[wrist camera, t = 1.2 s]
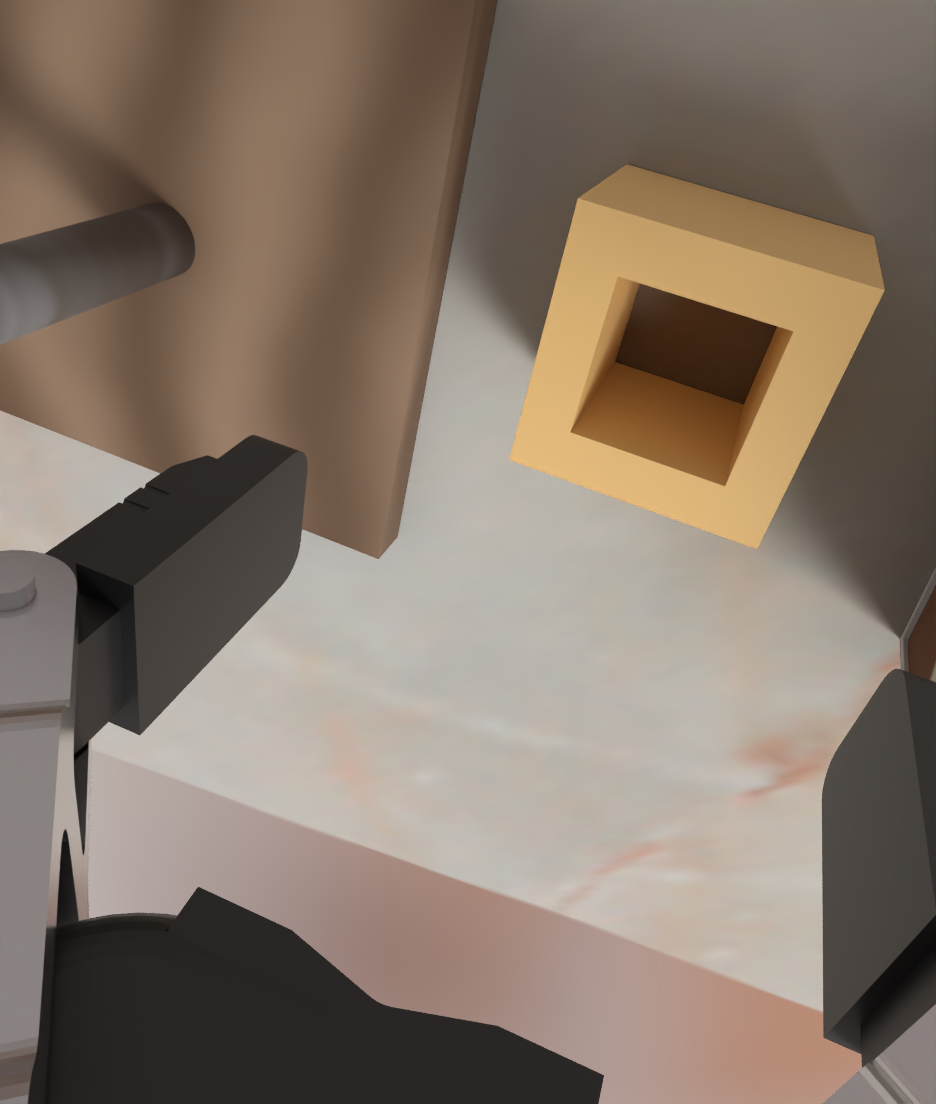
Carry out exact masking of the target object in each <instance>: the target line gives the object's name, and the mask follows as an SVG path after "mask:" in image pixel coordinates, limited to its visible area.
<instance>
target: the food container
mask: <svg viewBox="0 0 936 1104" xmlns="http://www.w3.org/2000/svg"><path fill="white" fill-rule="evenodd" d="M900 657H901V670H904V671H906V672H909V673H912V674H915V675H918V676H920V677H923V678H926V679H929V680H931V681H934V682H936V567H935V569H934V571H933V573H932V575H931V577H930V579H929V581H928V583H927V585H926V587H925V589H924V591H923V593H922V595H921V597H920V599H919V601H918V603H917V605H916V607H915V609H914V611H913V613H912V615H911V618H910V620H909V622H908V624H907V626H906V628H905V630H904V632H903V634H902V636H901V638H900Z"/></svg>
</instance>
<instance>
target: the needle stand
mask: <svg viewBox="0 0 936 1104" xmlns="http://www.w3.org/2000/svg"><path fill="white" fill-rule="evenodd" d="M496 4H497V0H0V410H1V411H3V412H6V413H8V414H11V415H14V416H16V417H19V418H21V419H24V420H26V421H29V422H31V423H34V424H36V425H39V426H42V427H44V428H47V429H49V430H52V431H54V432H57V433H59V434H62V435H64V436H67V437H70V438H72V439H75V440H77V441H80V442H82V443H85V444H87V445H90V446H92V447H95V448H97V449H100V450H103V451H105V452H108V453H110V454H113V455H115V456H118V457H120V458H123V459H125V460H128V461H131V462H133V463H136V464H138V465H141V466H143V467H146V468H148V469H151V470H153V471H156V472H159V473H162V472H164V471H165V470H167V469H168V468H170V467H171V466H173V465H177V464H180V463H183V462H187V461H190V460H193V459H196V458H200V457H203V456H206V455H208V456H211V457H214V458H217V459H218V458H219V457H221V456H222V455H223V454H225V453H226V452H227V451H229V450H230V449H232V448H233V447H234V446H236V445H237V444H238V443H240V442H241V441H242V440H244V439H245V438H247V437H248V436H251V435H257V436H260V437H262V438H265V439H268V440H271V441H274V442H276V443H279V444H282V445H285V446H287V447H290V448H293V449H296V450H298V451H301V452H303V453H304V454H305V455H306V457H307V463H308V470H307V481H306V491H305V501H304V511H303V522H302V529H303V530H306V531H309V532H311V533H314V534H316V535H319V536H321V537H324V538H326V539H329V540H331V541H334V542H337V543H339V544H342V545H344V546H347V547H349V548H352V549H354V550H357V551H359V552H362V553H364V554H367V555H370V556H372V557H375V558H377V559H379V558H380V557H381V556H382V554H383V553H384V552H385V551H386V550H387V548H388V547H389V546H390V545H391V544H392V543H393V541H394V540H395V539H396V538H397V536H398V531H399V525H400V520H401V515H402V509H403V504H404V498H405V493H406V488H407V482H408V477H409V472H410V466H411V461H412V455H413V450H414V445H415V439H416V434H417V429H418V423H419V418H420V413H421V407H422V402H423V396H424V391H425V386H426V380H427V375H428V370H429V364H430V359H431V353H432V348H433V343H434V337H435V332H436V327H437V321H438V316H439V310H440V305H441V300H442V294H443V289H444V284H445V278H446V273H447V267H448V262H449V257H450V251H451V246H452V241H453V235H454V230H455V225H456V219H457V214H458V208H459V203H460V198H461V192H462V187H463V182H464V176H465V171H466V165H467V160H468V155H469V149H470V144H471V139H472V133H473V128H474V122H475V117H476V112H477V106H478V101H479V96H480V90H481V85H482V80H483V74H484V69H485V63H486V58H487V53H488V47H489V42H490V37H491V31H492V26H493V20H494V15H495V10H496Z"/></svg>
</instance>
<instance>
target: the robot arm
mask: <svg viewBox="0 0 936 1104" xmlns="http://www.w3.org/2000/svg"><path fill="white" fill-rule="evenodd" d="M307 470H308V463H307V457H306V455H305V454H304V453H303V452H301V451H298V450H296V449H293V448H290V447H287V446H285V445H282V444H279V443H276V442H274V441H271V440H268V439H265V438H262V437H260V436H257V435H251V436H248V437H247V438H245V439H244V440H242V441H241V442H240V443H238V444H237V445H236V446H234V447H233V448H232V449H230V450H229V451H227V452H226V453H225V454H223V455H222V456H221V457H219V458H218V459H217V458H214V457H211V456H208V455H206V456H203V457H200V458H196V459H193V460H190V461H187V462H183V463H180V464H177V465H173V466H171V467H170V468H168V469H167V470H165V471H164V472H162V473H161V474H159V475H158V476H157V477H155V478H154V479H152V480H151V481H149V482H148V483H146V486H145V488H144V489H143V488H139V489H138V490H136V491H135V492H133V493H132V494H131V495H129V496H128V497H126V498H125V499H124V502H123V504H122V503H117V504H116V505H115V506H113V507H112V508H110V509H109V510H107V511H106V512H104V513H103V514H102V515H100V516H99V517H97V518H96V519H94V520H93V521H91V522H90V523H89V524H87V525H86V526H84V527H83V528H81V529H80V530H78V531H77V532H76V533H74V534H73V535H71V536H70V537H68V538H67V539H65V540H64V541H63V542H61V543H60V544H58V545H57V546H55V547H54V548H52V549H51V550H49V551H48V552H47V553H45V554H43V553H38V552H33V551H24V550H9V551H0V1104H598V1102H599V1097H600V1092H601V1088H602V1082H603V1077H604V1075H602V1074H600V1073H598V1072H595V1071H593V1070H591V1069H589V1068H587V1067H585V1066H583V1065H580V1064H578V1063H576V1062H574V1061H572V1060H570V1059H567V1058H565V1057H563V1056H561V1055H559V1054H557V1053H555V1052H552V1051H550V1050H548V1049H546V1048H544V1047H542V1046H540V1045H537V1044H535V1043H533V1042H531V1041H529V1040H527V1039H524V1038H522V1037H520V1036H518V1035H516V1034H514V1033H511V1032H509V1031H507V1030H505V1029H503V1028H501V1027H499V1026H494V1025H488V1024H483V1023H478V1022H472V1021H467V1020H461V1019H455V1018H450V1017H444V1016H438V1015H433V1014H427V1013H422V1012H416V1011H410V1010H405V1009H399V1008H393V1007H389V1006H385V1005H383V1004H381V1003H379V1002H377V1001H375V1000H374V999H372V998H371V997H370V996H369V995H367V994H366V993H365V992H364V991H363V990H362V989H360V988H359V987H358V986H357V985H355V984H354V983H353V982H352V981H351V980H350V979H349V978H347V977H346V976H345V975H344V974H343V973H341V972H340V971H339V970H338V969H337V968H336V967H334V966H333V965H332V964H331V963H330V962H329V961H327V960H326V959H325V958H324V957H323V956H321V955H320V954H319V953H318V952H317V951H316V950H314V949H313V948H312V947H311V946H310V945H308V944H307V943H306V942H305V941H303V940H302V939H301V938H300V937H299V936H298V935H297V934H295V933H294V932H293V931H292V930H290V929H288V928H286V927H283V926H281V925H279V924H277V923H275V922H273V921H270V920H269V919H266V918H264V917H262V916H260V915H258V914H256V913H253V912H251V911H249V910H247V909H245V908H243V907H241V906H238V905H236V904H234V903H232V902H230V901H228V900H225V899H223V898H221V897H219V896H217V895H215V894H213V893H210V892H208V891H206V890H204V889H202V888H200V887H198V888H197V889H196V891H195V892H194V893H193V895H192V896H191V898H190V899H189V900H188V902H187V903H186V905H185V906H184V907H183V909H182V910H181V912H180V913H179V914H178V916H176V915H170V914H156V913H128V914H113V915H107V916H101V917H96V918H90V919H89V903H88V902H89V901H88V862H89V831H90V801H91V771H92V770H91V769H92V745H91V738H92V737H93V736H94V735H95V734H96V733H97V732H98V731H99V730H100V729H101V728H102V727H103V726H105V725H106V724H107V723H108V722H111V723H113V724H115V725H118V726H120V727H122V728H124V729H127V730H129V731H131V732H134V733H136V734H138V735H141V734H142V733H143V732H144V731H145V729H146V728H147V727H148V726H149V725H150V724H151V723H152V722H153V721H154V720H155V719H156V718H157V717H158V716H159V715H160V714H161V713H162V711H163V710H164V709H165V708H166V707H167V706H168V705H169V704H170V703H171V702H172V701H173V700H174V699H175V698H176V697H177V696H178V695H179V694H180V692H181V691H182V690H183V689H184V688H185V687H186V686H187V685H188V684H189V683H190V682H191V681H192V680H193V679H194V678H195V677H196V676H197V675H198V673H199V672H200V671H201V670H202V669H203V668H204V667H205V666H206V665H207V664H208V663H209V662H210V661H211V660H212V659H213V658H214V657H215V655H216V654H217V653H218V652H219V651H220V650H221V649H222V648H223V647H224V646H225V645H226V644H227V643H228V642H229V641H230V640H231V639H232V638H233V636H234V635H235V634H236V633H237V632H238V631H239V630H240V629H241V628H242V627H243V626H244V625H245V624H246V623H247V622H248V621H249V620H250V619H251V617H252V616H253V615H254V614H255V613H256V612H257V611H258V610H259V609H260V608H261V607H262V606H263V605H264V604H265V603H266V602H267V601H268V599H269V598H270V597H271V596H272V595H273V594H274V593H275V592H276V591H277V590H278V589H279V588H280V587H281V586H282V585H283V583H284V582H285V581H286V579H287V578H288V576H289V574H290V572H291V571H292V569H293V566H294V564H295V561H296V559H297V556H298V552H299V548H300V542H301V532H302V522H303V511H304V501H305V491H306V481H307ZM822 874H823V1016H824V1017H823V1020H824V1021H823V1022H824V1038H826V1039H828V1040H830V1041H832V1042H835V1043H837V1044H839V1045H842V1046H844V1047H846V1048H848V1049H851V1050H853V1051H855V1052H858V1053H860V1054H862V1069H861V1070H859V1071H858V1072H857V1073H856V1074H855V1075H854V1076H853V1077H852V1078H850V1079H849V1080H848V1081H847V1082H846V1083H845V1084H844V1085H843V1086H842V1087H841V1088H839V1089H838V1090H837V1091H836V1092H835V1093H834V1094H833V1095H832V1096H831V1097H829V1098H828V1099H827V1100H826V1101H825V1102H824V1103H823V1104H936V682H934V681H931V680H929V679H926V678H923V677H920V676H918V675H915V674H912V673H909V672H906V671H904V670H901V669H894V670H893V671H891V672H890V673H889V674H888V675H887V676H886V677H885V678H884V680H883V681H882V682H881V684H880V685H879V687H878V689H877V690H876V692H875V693H874V695H873V696H872V698H871V699H870V701H869V702H868V704H867V705H866V707H865V708H864V710H863V711H862V713H861V714H860V716H859V717H858V719H857V720H856V722H855V723H854V725H853V726H852V728H851V729H850V731H849V732H848V734H847V735H846V737H845V738H844V740H843V741H842V743H841V744H840V746H839V747H838V749H837V751H836V752H835V754H834V756H833V758H832V761H831V763H830V765H829V768H828V771H827V774H826V777H825V781H824V786H823V793H822Z"/></svg>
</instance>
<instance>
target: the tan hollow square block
mask: <svg viewBox="0 0 936 1104" xmlns="http://www.w3.org/2000/svg"><path fill="white" fill-rule="evenodd" d="M640 283H641V284H644V285H647V286H650V287H653V288H656V289H660V290H663V291H666V292H669V293H672V294H676V295H679V296H682V297H685V298H688V299H692V300H695V301H698V302H701V303H704V304H707V305H711V306H714V307H717V308H720V309H723V310H727V311H730V312H733V313H736V314H739V315H743V316H746V317H749V318H752V319H755V320H758V321H762V322H765V323H768V324H771V325H774V326H777V328H776V330H775V333H774V335H773V337H772V340H771V342H770V344H769V347H768V349H767V351H766V354H765V356H764V358H763V361H762V363H761V365H760V368H759V370H758V372H757V375H756V377H755V379H754V382H753V384H752V386H751V389H750V391H749V393H748V396H747V398H746V400H745V403H744V405H743V404H740V403H737V402H734V401H731V400H728V399H725V398H722V397H719V396H716V395H713V394H710V393H707V392H704V391H701V390H698V389H695V388H692V387H689V386H686V385H683V384H680V383H677V382H674V381H671V380H668V379H665V378H662V377H659V376H656V375H653V374H650V373H647V372H644V371H641V370H638V369H635V368H632V367H629V366H626V365H623V364H620V363H617V362H615V360H616V357H617V354H618V351H619V348H620V345H621V342H622V339H623V336H624V332H625V329H626V326H627V323H628V320H629V317H630V314H631V311H632V308H633V304H634V301H635V298H636V295H637V292H638V289H639V286H640ZM884 291H885V288H884V283H883V278H882V273H881V268H880V263H879V258H878V253H877V248H876V243H875V238H874V236H873V235H869V234H866V233H863V232H859V231H856V230H852V229H849V228H845V227H842V226H838V225H835V224H831V223H828V222H825V221H821V220H818V219H814V218H811V217H807V216H804V215H800V214H797V213H793V212H790V211H787V210H783V209H780V208H776V207H773V206H769V205H766V204H762V203H759V202H755V201H752V200H749V199H745V198H742V197H738V196H735V195H731V194H728V193H724V192H721V191H717V190H714V189H711V188H707V187H704V186H700V185H697V184H693V183H690V182H686V181H683V180H679V179H676V178H673V177H669V176H666V175H662V174H659V173H655V172H652V171H648V170H645V169H641V168H638V167H635V166H631V165H628V164H626V165H625V166H623V167H622V168H621V169H619V170H618V171H616V172H615V173H613V174H612V175H611V176H609V177H608V178H606V179H605V180H603V181H602V182H600V183H599V184H598V185H596V186H595V187H593V188H592V189H590V190H589V191H588V192H586V193H585V194H583V195H582V196H580V197H579V198H578V200H577V204H576V207H575V211H574V215H573V219H572V223H571V226H570V230H569V234H568V238H567V242H566V245H565V249H564V253H563V257H562V261H561V264H560V268H559V272H558V276H557V280H556V283H555V287H554V291H553V295H552V299H551V303H550V306H549V310H548V314H547V318H546V322H545V325H544V329H543V333H542V337H541V341H540V344H539V348H538V352H537V356H536V360H535V363H534V367H533V371H532V375H531V379H530V382H529V386H528V390H527V394H526V398H525V401H524V405H523V409H522V413H521V417H520V420H519V424H518V428H517V432H516V436H515V439H514V443H513V447H512V451H511V455H510V458H509V460H511V461H514V462H516V463H519V464H522V465H525V466H527V467H530V468H533V469H536V470H539V471H541V472H544V473H547V474H550V475H552V476H555V477H558V478H561V479H563V480H566V481H569V482H572V483H575V484H577V485H580V486H583V487H586V488H588V489H591V490H594V491H597V492H600V493H602V494H605V495H608V496H611V497H613V498H616V499H619V500H622V501H624V502H627V503H630V504H633V505H636V506H638V507H641V508H644V509H647V510H649V511H652V512H655V513H658V514H660V515H663V516H666V517H669V518H672V519H674V520H677V521H680V522H683V523H685V524H688V525H691V526H694V527H697V528H699V529H702V530H705V531H708V532H710V533H713V534H716V535H719V536H721V537H724V538H727V539H730V540H733V541H735V542H738V543H741V544H744V545H746V546H749V547H752V548H755V549H757V548H758V546H759V544H760V542H761V540H762V538H763V536H764V534H765V532H766V530H767V528H768V526H769V524H770V522H771V520H772V518H773V516H774V514H775V512H776V510H777V508H778V506H779V504H780V502H781V500H782V498H783V496H784V494H785V492H786V490H787V488H788V486H789V484H790V482H791V480H792V478H793V475H794V473H795V471H796V469H797V467H798V465H799V463H800V461H801V459H802V457H803V455H804V453H805V451H806V449H807V447H808V445H809V443H810V441H811V439H812V437H813V435H814V433H815V431H816V429H817V427H818V425H819V423H820V421H821V419H822V417H823V415H824V413H825V411H826V409H827V407H828V404H829V402H830V400H831V398H832V396H833V394H834V392H835V390H836V388H837V386H838V384H839V382H840V380H841V378H842V376H843V374H844V372H845V370H846V368H847V366H848V364H849V362H850V360H851V358H852V356H853V354H854V352H855V350H856V348H857V346H858V344H859V342H860V340H861V338H862V336H863V334H864V331H865V329H866V327H867V325H868V323H869V321H870V319H871V317H872V315H873V313H874V311H875V309H876V307H877V305H878V303H879V301H880V299H881V297H882V295H883V293H884Z"/></svg>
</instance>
